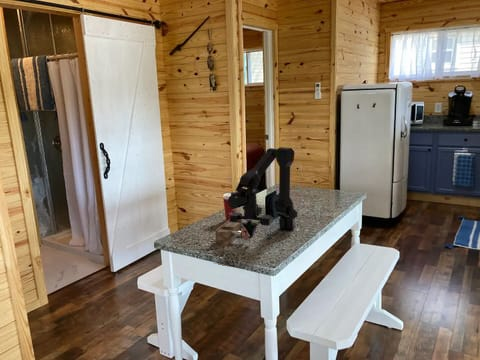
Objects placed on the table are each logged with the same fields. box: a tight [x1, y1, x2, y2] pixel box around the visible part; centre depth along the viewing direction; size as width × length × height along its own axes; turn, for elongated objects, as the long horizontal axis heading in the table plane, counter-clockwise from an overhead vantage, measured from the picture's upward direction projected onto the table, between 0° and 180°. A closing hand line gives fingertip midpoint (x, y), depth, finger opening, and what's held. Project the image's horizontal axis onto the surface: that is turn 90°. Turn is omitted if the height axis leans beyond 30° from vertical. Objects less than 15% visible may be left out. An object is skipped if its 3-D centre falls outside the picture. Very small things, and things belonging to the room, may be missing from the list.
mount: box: [215, 220, 246, 246], centre depth 185 cm, size 6×20×6 cm, turn 156°
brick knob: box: [230, 230, 249, 240], centre depth 178 cm, size 8×4×4 cm, turn 66°
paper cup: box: [222, 192, 238, 222], centre depth 206 cm, size 8×8×14 cm
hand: (251, 237), depth 175 cm, fingers closed
